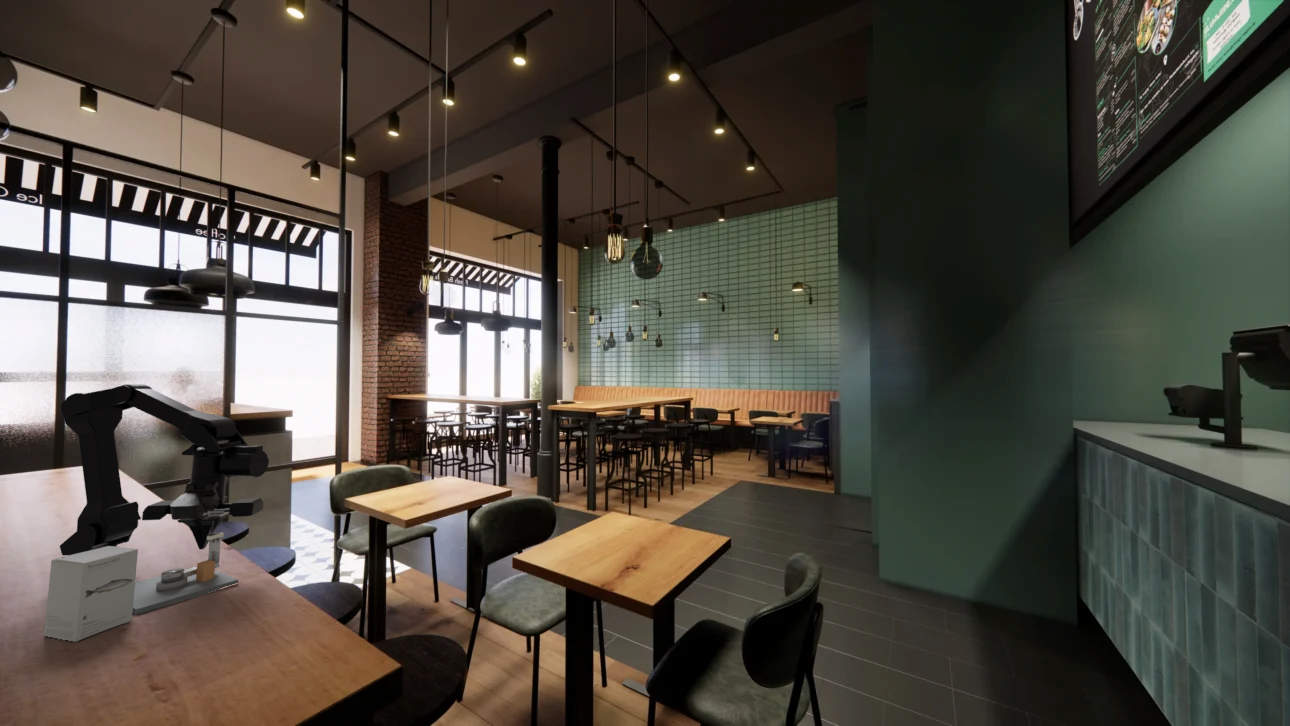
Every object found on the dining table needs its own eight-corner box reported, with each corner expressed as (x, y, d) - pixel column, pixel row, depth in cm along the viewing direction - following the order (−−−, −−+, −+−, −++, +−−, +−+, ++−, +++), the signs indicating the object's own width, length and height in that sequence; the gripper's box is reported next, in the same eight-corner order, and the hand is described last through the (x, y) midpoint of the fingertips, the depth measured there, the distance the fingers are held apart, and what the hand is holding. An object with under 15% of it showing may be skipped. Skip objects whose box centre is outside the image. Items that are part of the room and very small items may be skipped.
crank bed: (102, 595, 91) (104, 571, 91) (202, 569, 104) (203, 549, 104) (135, 614, 84) (137, 589, 84) (237, 584, 97) (239, 562, 97)
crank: (167, 584, 91) (170, 548, 92) (156, 582, 92) (159, 546, 92) (225, 566, 101) (227, 533, 101) (215, 564, 102) (217, 531, 102)
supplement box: (75, 643, 74) (82, 563, 75) (41, 637, 76) (49, 558, 77) (133, 621, 82) (139, 548, 82) (102, 616, 83) (108, 544, 84)
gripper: (126, 484, 91) (117, 566, 90) (242, 482, 96) (235, 558, 96) (164, 474, 101) (156, 547, 100) (266, 472, 107) (261, 541, 106)
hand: (202, 548), depth 100 cm, fingers closed
